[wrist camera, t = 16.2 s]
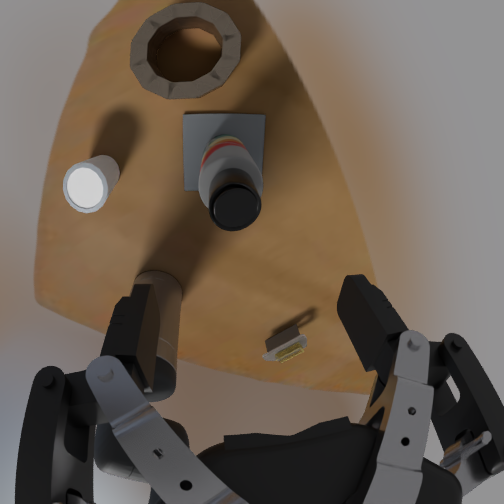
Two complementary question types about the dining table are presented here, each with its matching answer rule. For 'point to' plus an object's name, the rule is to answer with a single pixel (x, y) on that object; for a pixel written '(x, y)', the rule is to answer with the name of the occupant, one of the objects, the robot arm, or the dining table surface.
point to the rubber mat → (210, 125)
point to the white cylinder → (90, 183)
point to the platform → (285, 344)
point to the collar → (168, 24)
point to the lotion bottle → (230, 183)
